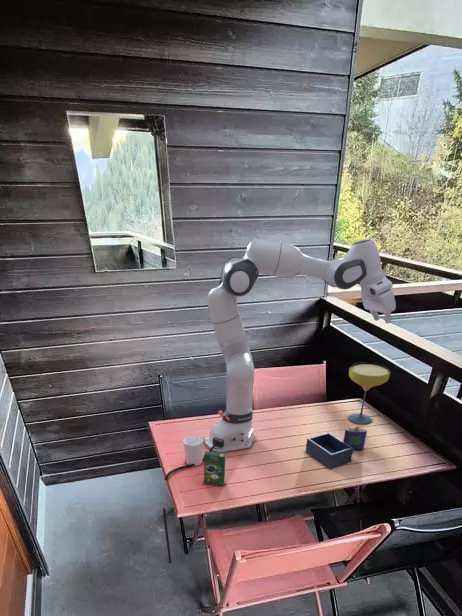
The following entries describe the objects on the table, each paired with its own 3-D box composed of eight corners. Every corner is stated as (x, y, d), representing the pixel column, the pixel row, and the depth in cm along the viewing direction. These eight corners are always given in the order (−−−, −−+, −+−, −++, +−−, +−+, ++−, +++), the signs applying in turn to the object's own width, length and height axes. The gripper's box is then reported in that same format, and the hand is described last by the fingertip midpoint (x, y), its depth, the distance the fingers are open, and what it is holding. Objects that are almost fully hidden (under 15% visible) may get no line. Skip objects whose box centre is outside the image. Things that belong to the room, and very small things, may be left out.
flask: (362, 447, 193) (367, 425, 186) (364, 450, 191) (368, 428, 184) (341, 446, 193) (345, 424, 187) (342, 450, 191) (346, 427, 184)
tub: (329, 468, 178) (331, 455, 175) (305, 452, 189) (307, 438, 185) (350, 461, 183) (353, 447, 179) (326, 445, 194) (328, 432, 190)
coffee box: (226, 482, 170) (225, 452, 163) (224, 486, 168) (224, 456, 160) (205, 480, 171) (204, 450, 164) (204, 484, 169) (202, 454, 161)
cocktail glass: (372, 431, 205) (383, 379, 190) (335, 421, 213) (343, 370, 198) (384, 416, 217) (395, 367, 202) (349, 408, 225) (357, 359, 210)
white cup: (189, 468, 178) (188, 447, 172) (181, 459, 184) (180, 438, 178) (207, 464, 181) (206, 442, 175) (199, 455, 187) (198, 434, 181)
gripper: (354, 288, 173) (363, 322, 180) (377, 291, 155) (387, 328, 162) (368, 280, 172) (377, 314, 179) (394, 282, 155) (403, 320, 161)
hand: (382, 321), depth 170 cm, fingers open, 8 cm apart
